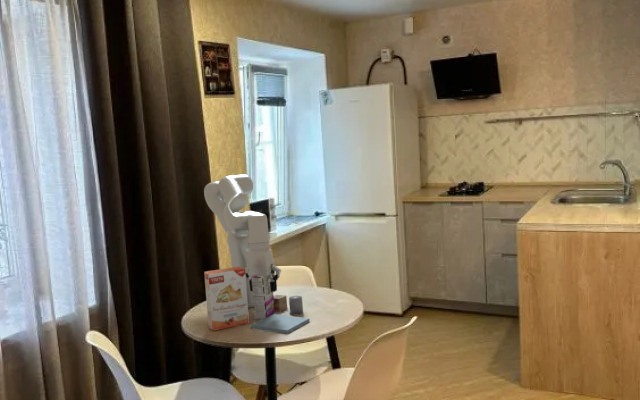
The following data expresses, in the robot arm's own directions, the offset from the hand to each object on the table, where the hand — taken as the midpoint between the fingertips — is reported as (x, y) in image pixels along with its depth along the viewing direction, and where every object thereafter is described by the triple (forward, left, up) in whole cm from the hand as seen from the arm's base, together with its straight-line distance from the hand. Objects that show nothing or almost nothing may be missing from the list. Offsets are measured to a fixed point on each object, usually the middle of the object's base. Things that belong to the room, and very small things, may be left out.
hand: (263, 290), depth 217 cm
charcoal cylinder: (+9, +7, -10) cm, 15 cm away
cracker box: (-6, -15, -10) cm, 19 cm away
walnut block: (-1, +9, -10) cm, 14 cm away
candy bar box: (-1, 0, -10) cm, 10 cm away
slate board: (+12, -8, -10) cm, 18 cm away
